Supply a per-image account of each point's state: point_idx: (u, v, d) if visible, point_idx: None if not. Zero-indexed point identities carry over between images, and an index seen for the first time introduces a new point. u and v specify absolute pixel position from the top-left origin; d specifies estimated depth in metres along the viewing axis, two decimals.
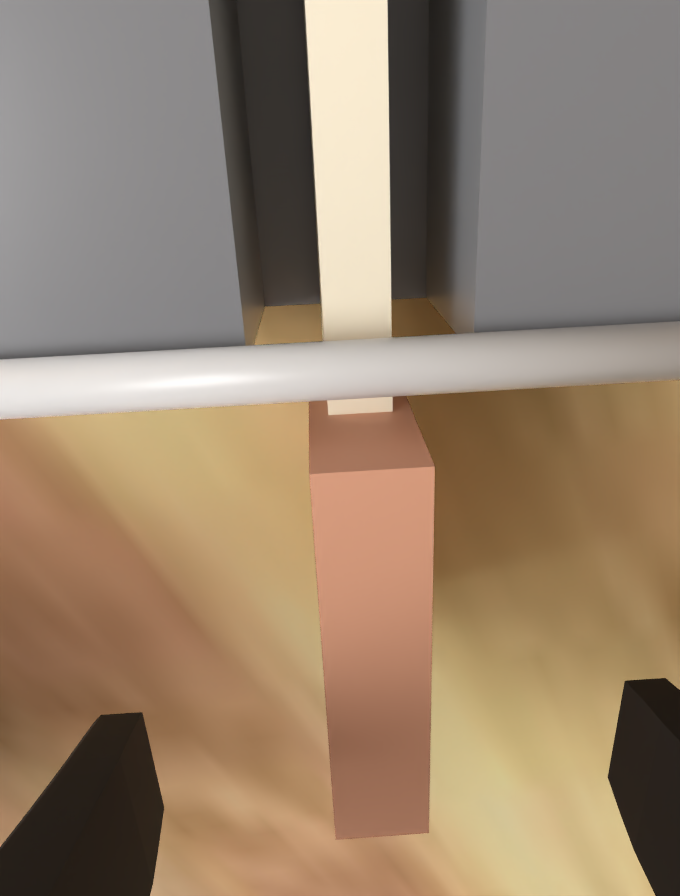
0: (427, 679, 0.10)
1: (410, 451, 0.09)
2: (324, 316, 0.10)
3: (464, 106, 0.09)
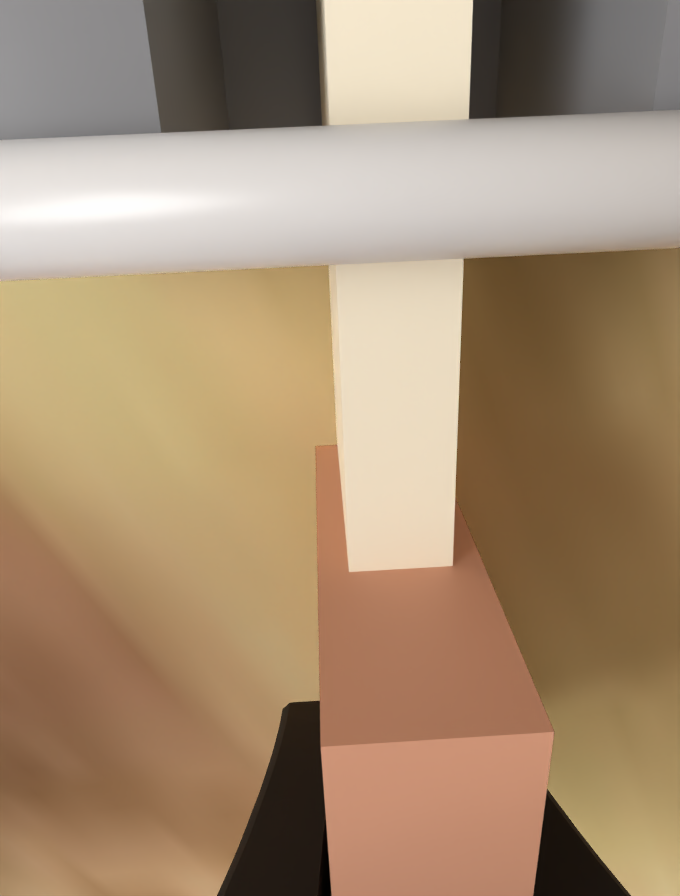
0: None
1: (500, 680, 0.05)
2: (345, 422, 0.06)
3: None
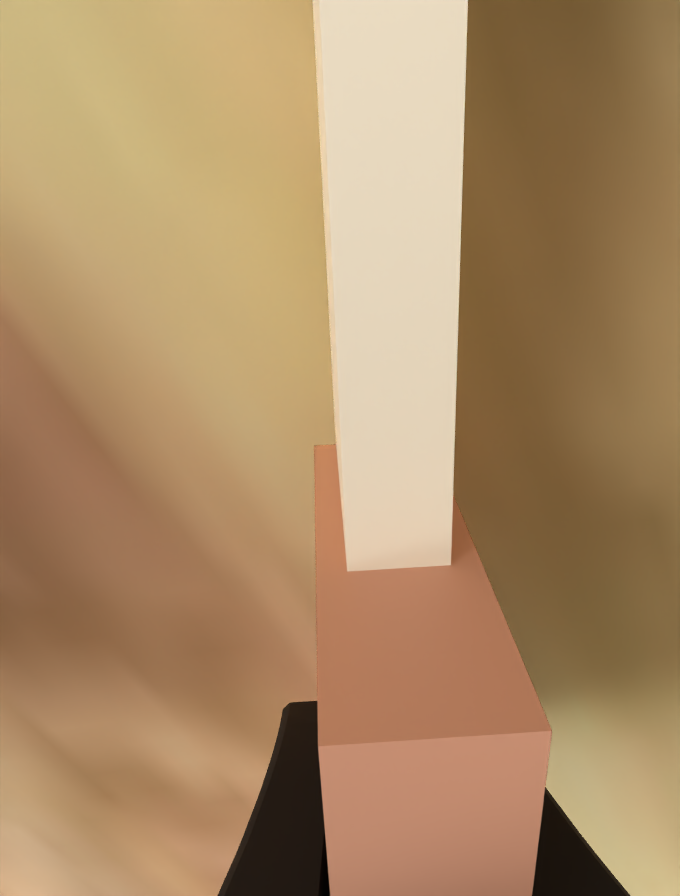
0: None
1: (498, 679, 0.05)
2: (342, 422, 0.06)
3: None
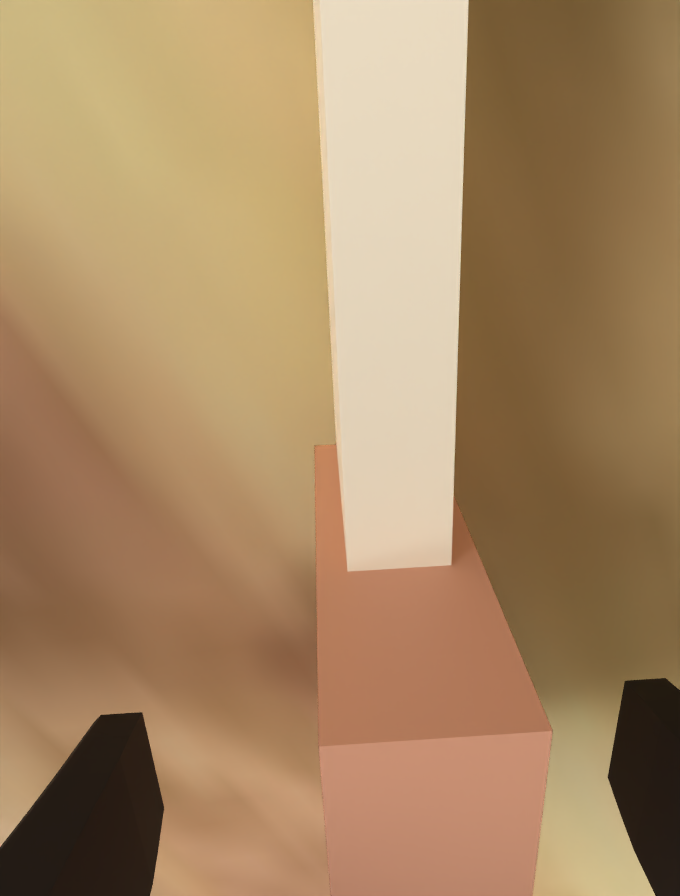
0: None
1: (498, 680, 0.05)
2: (343, 422, 0.06)
3: None
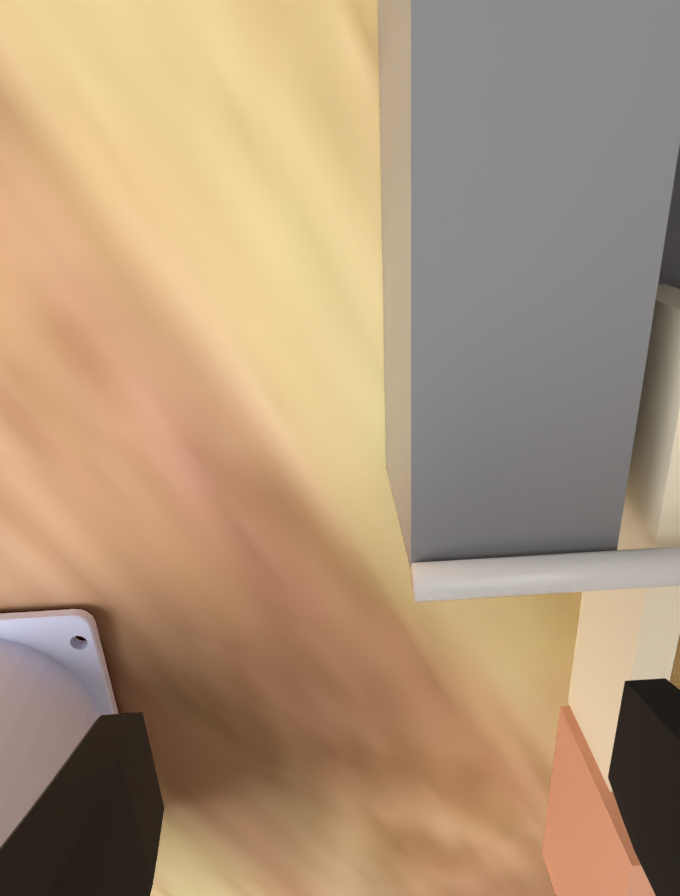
0: None
1: None
2: None
3: None
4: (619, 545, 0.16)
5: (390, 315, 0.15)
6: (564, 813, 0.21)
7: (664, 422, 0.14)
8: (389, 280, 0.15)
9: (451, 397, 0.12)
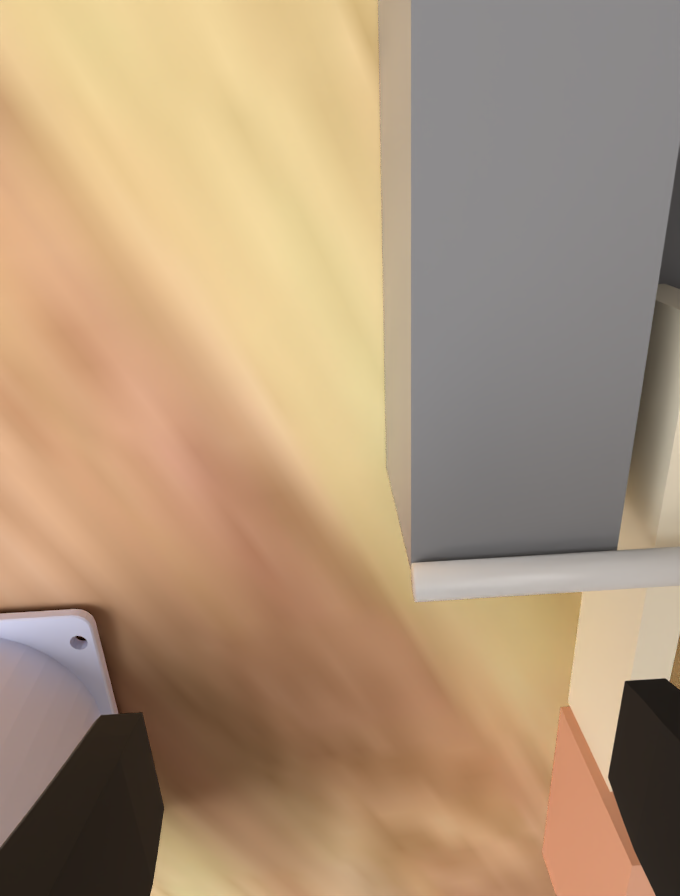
0: None
1: None
2: None
3: None
4: (619, 545, 0.16)
5: (390, 315, 0.15)
6: (564, 813, 0.21)
7: (664, 422, 0.14)
8: (389, 280, 0.15)
9: (451, 397, 0.12)
